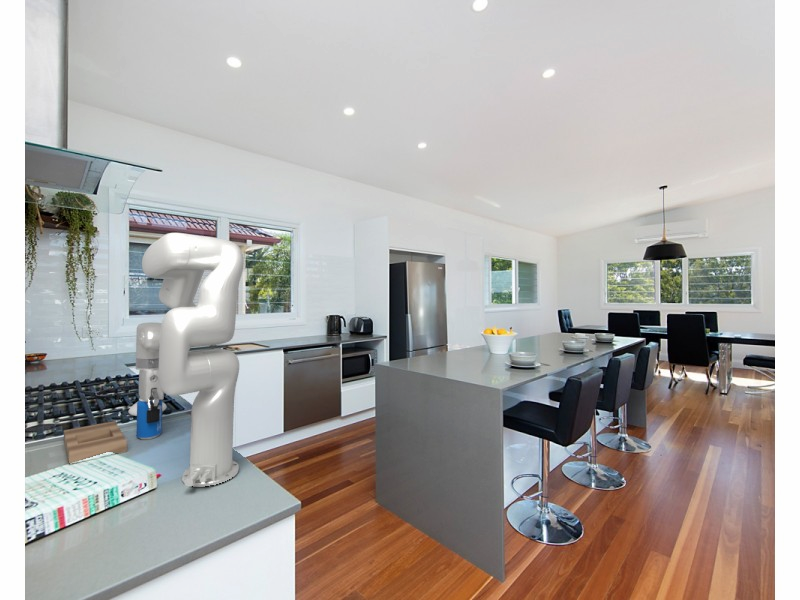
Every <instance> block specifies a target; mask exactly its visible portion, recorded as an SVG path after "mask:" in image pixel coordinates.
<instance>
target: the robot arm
mask: <svg viewBox="0 0 800 600" xmlns="http://www.w3.org/2000/svg"><path fill="white" fill-rule="evenodd" d="M244 263H245V262H244V254H243V252H242V249H241V248H240V246H239V245H238V244H237V243H235V242H233V241H231V240H229V239H225V238H219V237H213V236H206V235H205V236H204V235H198V234H190V233H183V232H170V233H166V234H163V236H162V237H159V238H158V239H157V240H155V241H154V242H153V243H152V244H150V246H148V247H147V248H146V250H145V252H144V254H143V257H142V260H141V268H142V271H143V274H144V275H145V276H147V277H148V278H149V279H150V278H151V279H162V284H161V287H160V289H159V292H158V299H159V301H160V302H161V303H162V304H163V305H164V306H166V307H167V308H169V309H170V310H168V311H167V312H166V313H165V314H164V316H163V319H162V320H161V322H142V323H139V324H138V325H137V326H136V336H135V337H136V338H135V339H136V341H135V343H136V345H135V369H136V370H138V371H139V372H138V373H139V374H138V396H139V398H141V399H142V400H143V401H144V402H146V403H147V405H148V410H147V419H146V422H147V423H154V422H158V421H159V417H160V405H159V399H160V400H162V401H163V400H164V396H165V395H167V396H174V397H175V396H181V395H186V394H192V393H197V392H198V393H197V395H196V396H195V398H194V399H193V403H192V405H191V410H190V411H191V414H190V415H191V416H190V442H189V443H190V444H189V445H190V448H189V454H190V455H189V467H188V468H186V469H185V470H184V471H183V473H182V478H181V479H182V480H181V481H182V482H183V484H184V486H185V487H187V488H190V487H192V486H193V488H206V487H205V486H209V487H211V486H210V485H214V486H217V485H216V484H218V485H220V484H219V483H221V484H223V483H222V482H224V483H225V481H226V482H228V481H230V480H232V479H233V478H234V477H236V475H237V474H238V472H239V468H240V467H239V466H240V465H239V463H238V462H237V461H235V460H233V449H234V448H233V446H234V443H233V441H234V413H235V410H234V409H235V407H234V406H235V393H236V386H237V382H238V378H239V374H240V360H239V358H238V356H237V355H236V353H234V352H233V351H232V350H229V349H224V348H216V349H215V348H214V349H204V350H198V351H190V349H191V348H198V347H208V346H209V347H210V346H216V345H217V346H218V345H222V344H226V343H228V342H230V341H231V340H233V337H234V336H235V330H236V319H237V318H236V317H237V304H238V302H237V300H238V289H239V285H240V281H241V278H242V275H243V271H244V265H245V264H244ZM205 271H211V272H209V273H208V275H207V276H206V277H205V278H204V279H203V280H202V278H203V276H204V272H205ZM201 281H202V282H201ZM197 291H198V300H197V301H198V302H197V305H196V303H194V300H195V298H196V295H197ZM164 394H165V395H164ZM149 399H150V400H149ZM152 402H153V403H152ZM150 403H152V404H151V405H150ZM232 477H233V478H232ZM229 479H230V480H229ZM227 480H228V481H227Z"/></svg>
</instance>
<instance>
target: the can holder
mask: <svg viewBox="0 0 800 600" xmlns="http://www.w3.org/2000/svg"><path fill="white" fill-rule="evenodd" d="M63 442H64V443H63V444H64V447H65V453H66V457H67V461H69V462H68V464H69V463H72V462H75V461H79V460H83V459H86V458H90V457H93V456H96V455H100V454H103V453H106V452H113V453H119V454H122V453H121V452H123V453H127V452H128V441H127V439H126V437H125V436H124V434H123V432H122V431H121V429H120V427H119V425H118V423H117V422H116V420H114V421H108V422H103V423H98V424H91V425H87V426H80V427H76V428H71V429H64V430H63Z"/></svg>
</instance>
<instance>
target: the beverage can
mask: <svg viewBox="0 0 800 600" xmlns="http://www.w3.org/2000/svg"><path fill="white" fill-rule="evenodd" d="M149 400H150V399H149ZM137 402H138V403H137ZM137 402H136V403H137V416H136V430H135V431H136V438H139V439H140V440H143V441H145V440H151V439H155V438H157V437H159V436H160V435H161V434H162V433H163V432H162V431H163V430H162V429H163V428H162V427H163V411H162V402H163V400H160V399H159V405H160V417H159V421H158V422H154V423H147V422H146V419H147V410H148V405H147V403H146V402H144V401H143V400H142V399H141V398H140V397H139V398H138V401H137ZM152 403H153V402H152ZM152 403H150V405H151V404H152Z"/></svg>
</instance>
